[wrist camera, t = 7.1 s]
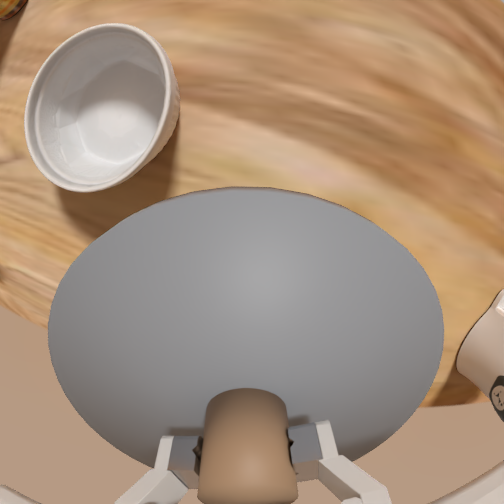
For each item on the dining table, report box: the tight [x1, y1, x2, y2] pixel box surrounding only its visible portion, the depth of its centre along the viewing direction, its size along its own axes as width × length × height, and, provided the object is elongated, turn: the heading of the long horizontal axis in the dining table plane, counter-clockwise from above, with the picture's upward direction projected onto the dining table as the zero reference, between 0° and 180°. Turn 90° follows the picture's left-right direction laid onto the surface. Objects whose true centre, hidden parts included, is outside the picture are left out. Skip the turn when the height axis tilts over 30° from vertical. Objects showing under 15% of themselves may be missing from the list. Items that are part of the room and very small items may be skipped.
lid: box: [48, 187, 444, 504], centre depth 9 cm, size 17×17×5 cm
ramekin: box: [24, 23, 180, 193], centre depth 19 cm, size 13×13×7 cm
